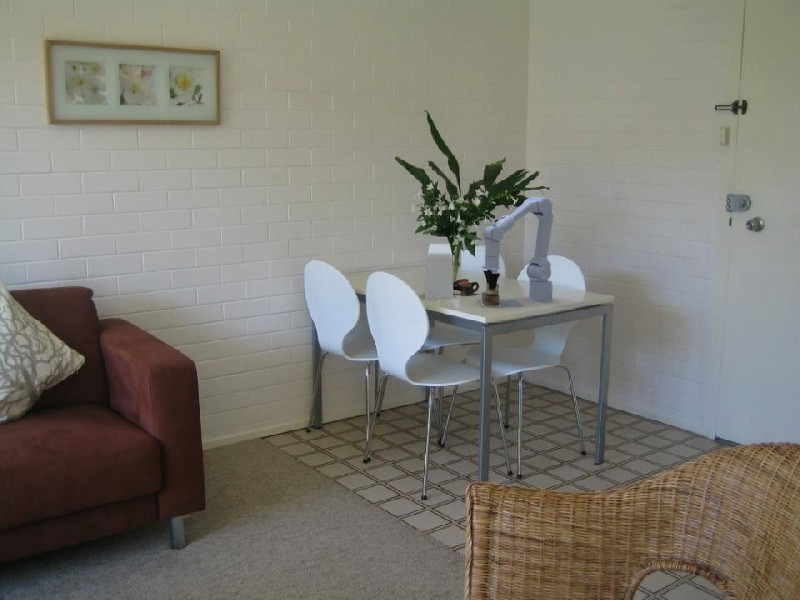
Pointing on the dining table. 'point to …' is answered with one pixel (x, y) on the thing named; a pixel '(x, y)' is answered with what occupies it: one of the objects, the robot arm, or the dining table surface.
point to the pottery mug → (465, 287)
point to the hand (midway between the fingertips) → (491, 288)
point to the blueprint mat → (504, 303)
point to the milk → (439, 270)
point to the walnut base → (490, 299)
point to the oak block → (492, 290)
